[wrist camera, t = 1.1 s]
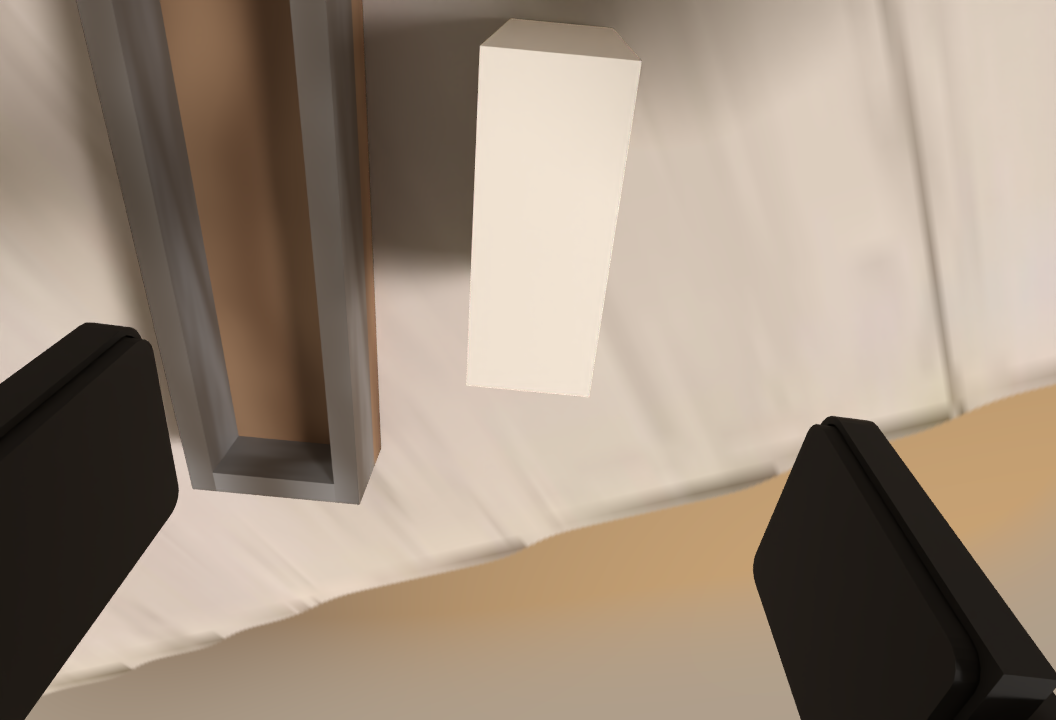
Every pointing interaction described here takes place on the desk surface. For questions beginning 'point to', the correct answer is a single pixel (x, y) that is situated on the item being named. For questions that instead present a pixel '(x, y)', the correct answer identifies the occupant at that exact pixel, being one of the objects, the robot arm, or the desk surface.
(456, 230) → the desk surface
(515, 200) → the white rectangular box
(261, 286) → the door track
